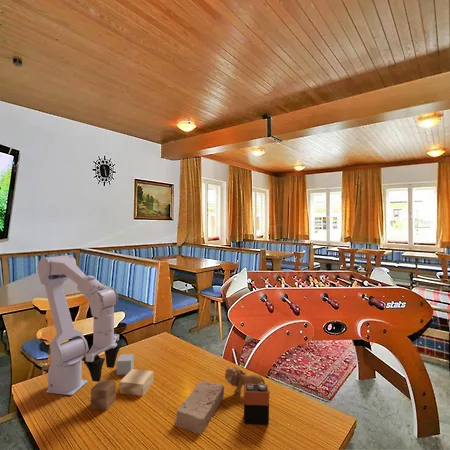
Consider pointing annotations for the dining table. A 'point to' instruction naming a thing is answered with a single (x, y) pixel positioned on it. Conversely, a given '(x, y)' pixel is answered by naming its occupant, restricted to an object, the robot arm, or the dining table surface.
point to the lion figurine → (241, 378)
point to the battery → (256, 404)
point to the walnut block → (103, 395)
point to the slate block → (125, 364)
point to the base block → (136, 382)
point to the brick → (199, 406)
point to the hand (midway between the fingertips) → (103, 373)
